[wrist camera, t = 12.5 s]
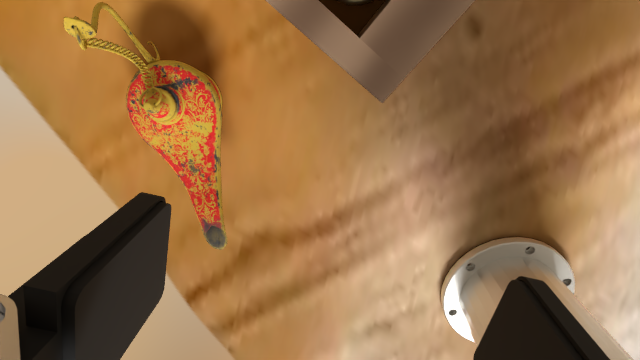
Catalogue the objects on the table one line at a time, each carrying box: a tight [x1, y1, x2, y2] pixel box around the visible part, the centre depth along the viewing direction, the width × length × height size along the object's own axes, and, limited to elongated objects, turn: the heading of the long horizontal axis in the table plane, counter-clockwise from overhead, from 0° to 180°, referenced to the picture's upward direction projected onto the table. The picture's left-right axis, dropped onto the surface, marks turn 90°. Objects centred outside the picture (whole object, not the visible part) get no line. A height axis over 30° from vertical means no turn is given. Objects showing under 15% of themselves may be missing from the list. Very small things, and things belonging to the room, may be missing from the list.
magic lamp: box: [64, 2, 227, 249], centre depth 27 cm, size 7×18×11 cm, turn 17°
